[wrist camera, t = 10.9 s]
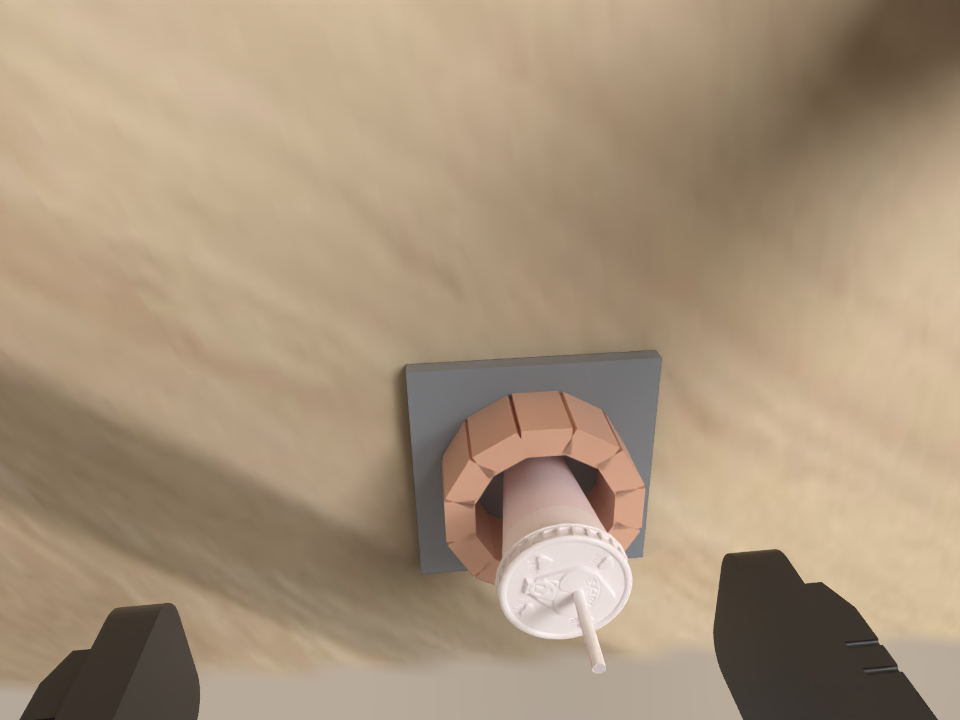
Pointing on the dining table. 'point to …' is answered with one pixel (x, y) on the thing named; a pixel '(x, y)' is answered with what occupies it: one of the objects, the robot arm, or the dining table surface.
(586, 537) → the smoothie
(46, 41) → the dining table surface
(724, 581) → the robot arm
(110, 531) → the dining table surface
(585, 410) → the collar
